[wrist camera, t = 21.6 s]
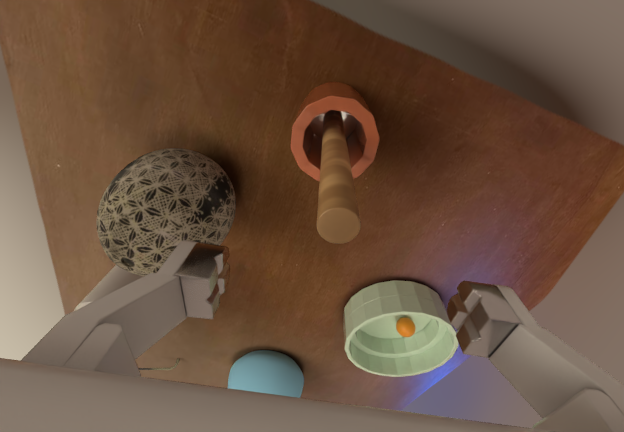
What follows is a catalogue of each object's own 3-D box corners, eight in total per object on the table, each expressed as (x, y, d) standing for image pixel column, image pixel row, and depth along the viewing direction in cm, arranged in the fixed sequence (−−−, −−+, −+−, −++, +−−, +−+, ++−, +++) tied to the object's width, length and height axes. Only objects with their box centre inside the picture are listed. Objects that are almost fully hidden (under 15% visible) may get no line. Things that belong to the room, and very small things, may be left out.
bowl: (463, 308, 45) (482, 345, 39) (390, 350, 52) (397, 387, 47) (393, 260, 40) (404, 294, 35) (323, 314, 47) (323, 349, 42)
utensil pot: (379, 111, 29) (397, 136, 22) (336, 160, 32) (338, 197, 25) (328, 65, 27) (328, 75, 20) (288, 122, 30) (274, 150, 23)
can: (182, 264, 43) (137, 333, 33) (163, 288, 46) (116, 358, 36) (136, 238, 40) (71, 304, 30) (119, 266, 44) (56, 334, 34)
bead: (421, 331, 45) (414, 340, 42) (404, 332, 47) (396, 340, 44) (414, 313, 45) (407, 321, 43) (398, 315, 47) (390, 322, 45)
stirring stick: (346, 118, 29) (370, 224, 12) (334, 132, 30) (340, 250, 13) (331, 105, 28) (336, 199, 12) (319, 121, 29) (307, 228, 13)
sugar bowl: (319, 371, 57) (317, 438, 48) (270, 392, 63) (259, 456, 53) (267, 336, 52) (252, 405, 42) (218, 363, 58) (196, 428, 48)
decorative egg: (265, 199, 36) (231, 286, 23) (196, 229, 39) (131, 320, 26) (210, 115, 30) (125, 168, 18) (134, 158, 34) (17, 229, 21)
